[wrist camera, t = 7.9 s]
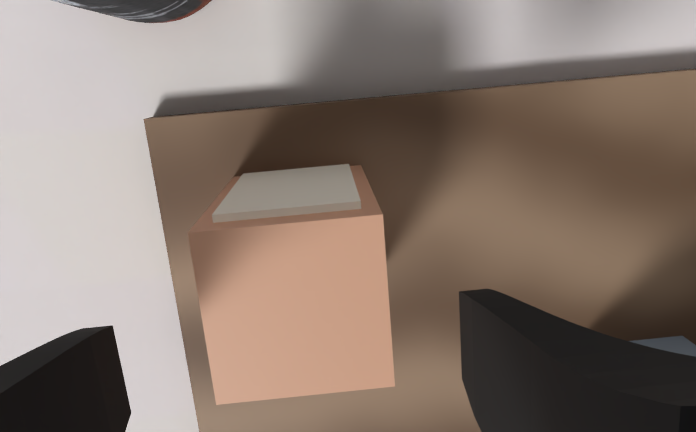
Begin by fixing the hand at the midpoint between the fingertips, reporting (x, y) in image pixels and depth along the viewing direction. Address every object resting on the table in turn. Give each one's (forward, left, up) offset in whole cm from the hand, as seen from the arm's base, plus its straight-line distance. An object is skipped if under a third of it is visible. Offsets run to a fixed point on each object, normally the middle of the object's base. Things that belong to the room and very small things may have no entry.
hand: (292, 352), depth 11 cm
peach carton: (0, 0, -9) cm, 9 cm away
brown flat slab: (-5, -7, -10) cm, 13 cm away
